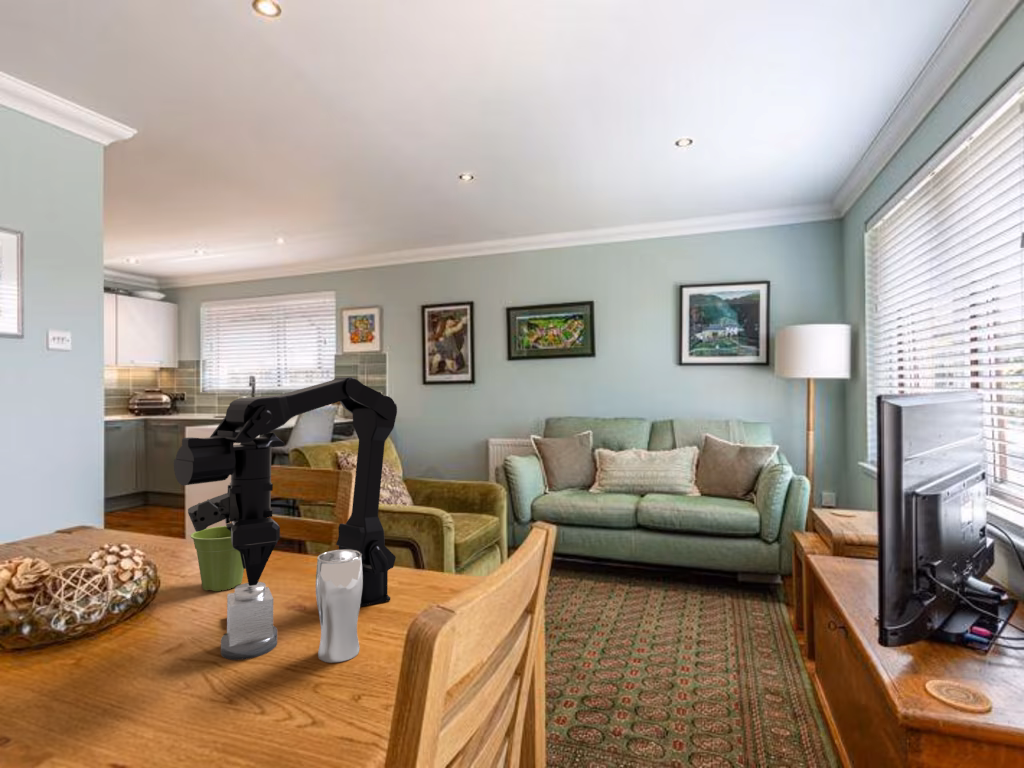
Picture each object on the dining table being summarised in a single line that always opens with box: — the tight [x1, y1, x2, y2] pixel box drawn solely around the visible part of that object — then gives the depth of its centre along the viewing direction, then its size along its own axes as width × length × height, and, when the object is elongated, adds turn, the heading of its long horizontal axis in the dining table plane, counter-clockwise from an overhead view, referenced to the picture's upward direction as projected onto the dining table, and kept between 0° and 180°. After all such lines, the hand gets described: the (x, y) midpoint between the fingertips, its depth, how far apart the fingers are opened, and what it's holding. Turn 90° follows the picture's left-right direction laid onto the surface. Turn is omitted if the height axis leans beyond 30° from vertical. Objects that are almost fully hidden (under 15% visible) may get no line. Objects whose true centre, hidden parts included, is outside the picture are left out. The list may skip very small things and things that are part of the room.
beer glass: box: [315, 549, 363, 664], centre depth 83 cm, size 7×7×15 cm
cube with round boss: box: [226, 581, 274, 647], centre depth 85 cm, size 6×6×8 cm
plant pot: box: [189, 525, 245, 592], centre depth 112 cm, size 12×12×11 cm
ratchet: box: [220, 625, 278, 661], centre depth 89 cm, size 18×8×6 cm, turn 31°
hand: (249, 576), depth 85 cm, fingers open, 9 cm apart
